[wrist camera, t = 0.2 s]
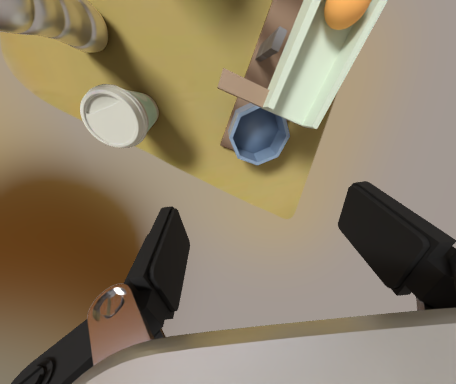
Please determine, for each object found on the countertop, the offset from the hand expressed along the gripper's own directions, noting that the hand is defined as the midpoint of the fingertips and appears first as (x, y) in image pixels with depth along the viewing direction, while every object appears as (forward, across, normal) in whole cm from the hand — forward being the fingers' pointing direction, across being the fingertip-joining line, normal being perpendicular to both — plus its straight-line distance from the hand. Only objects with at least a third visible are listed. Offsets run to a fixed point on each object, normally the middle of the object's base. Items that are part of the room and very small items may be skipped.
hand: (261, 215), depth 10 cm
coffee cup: (+31, +17, -4) cm, 35 cm away
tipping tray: (+20, -7, -9) cm, 23 cm away
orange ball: (+16, -12, -12) cm, 23 cm away
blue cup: (+29, -4, +2) cm, 29 cm away
